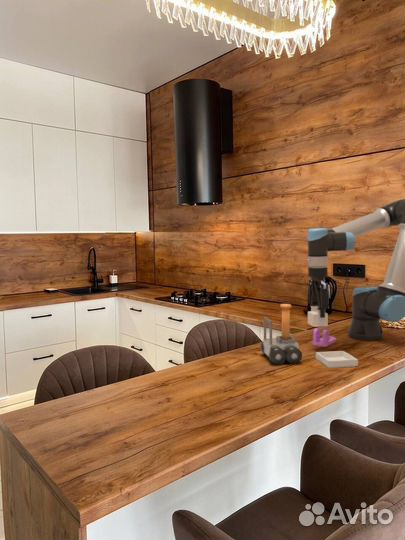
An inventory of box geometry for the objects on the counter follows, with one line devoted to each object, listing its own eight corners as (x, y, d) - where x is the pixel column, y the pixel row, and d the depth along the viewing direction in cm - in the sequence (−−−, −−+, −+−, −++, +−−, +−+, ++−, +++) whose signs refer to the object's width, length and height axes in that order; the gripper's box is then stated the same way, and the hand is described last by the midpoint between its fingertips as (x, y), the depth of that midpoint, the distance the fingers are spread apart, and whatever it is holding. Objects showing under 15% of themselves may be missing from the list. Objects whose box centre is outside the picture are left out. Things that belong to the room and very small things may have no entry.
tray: (343, 357, 160) (343, 350, 160) (357, 366, 149) (358, 359, 149) (315, 358, 159) (315, 352, 159) (328, 368, 148) (328, 361, 148)
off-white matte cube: (321, 322, 172) (321, 310, 171) (327, 326, 166) (327, 313, 165) (307, 323, 171) (307, 311, 170) (313, 326, 165) (313, 314, 165)
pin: (288, 339, 161) (289, 303, 160) (292, 342, 157) (292, 305, 156) (278, 339, 160) (279, 304, 159) (282, 342, 156) (282, 305, 155)
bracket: (325, 347, 175) (325, 331, 174) (313, 344, 179) (313, 329, 178) (337, 340, 185) (338, 325, 184) (325, 338, 188) (326, 323, 188)
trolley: (289, 352, 167) (289, 314, 165) (302, 363, 153) (302, 321, 151) (260, 354, 165) (260, 315, 164) (270, 365, 151) (270, 323, 150)
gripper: (300, 265, 175) (300, 319, 177) (318, 269, 156) (318, 329, 158) (317, 264, 176) (317, 318, 178) (337, 268, 157) (337, 328, 159)
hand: (318, 323), depth 168 cm, fingers closed on off-white matte cube, 6 cm apart
